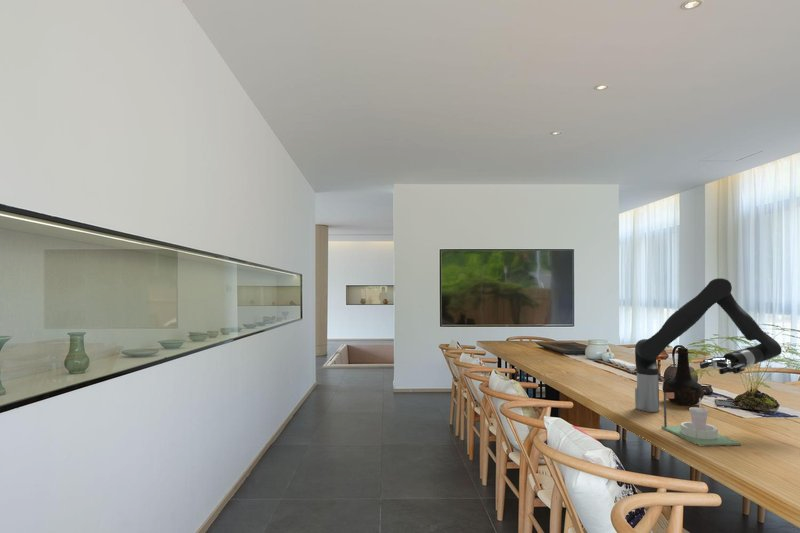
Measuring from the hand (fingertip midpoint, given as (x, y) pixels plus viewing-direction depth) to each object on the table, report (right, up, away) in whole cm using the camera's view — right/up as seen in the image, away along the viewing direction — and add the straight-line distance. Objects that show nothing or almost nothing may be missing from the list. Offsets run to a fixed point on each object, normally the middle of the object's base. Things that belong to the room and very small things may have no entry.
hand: (710, 369), depth 191 cm
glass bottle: (+14, -27, +42) cm, 51 cm away
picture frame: (+39, -27, +37) cm, 60 cm away
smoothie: (-11, -24, -9) cm, 28 cm away
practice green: (-11, -24, -10) cm, 28 cm away
